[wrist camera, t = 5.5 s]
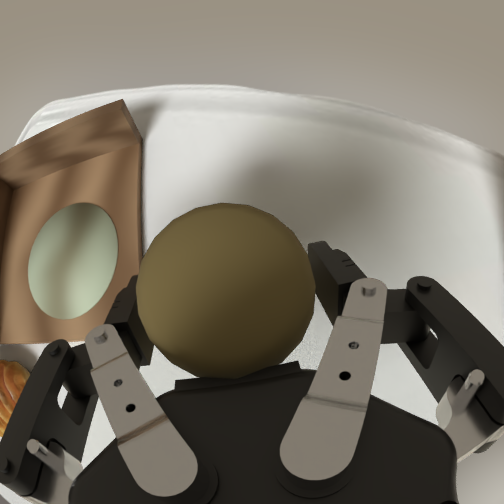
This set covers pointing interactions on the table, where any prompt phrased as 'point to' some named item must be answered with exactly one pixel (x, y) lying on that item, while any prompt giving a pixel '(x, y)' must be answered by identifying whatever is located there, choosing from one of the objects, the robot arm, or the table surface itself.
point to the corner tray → (69, 225)
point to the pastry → (10, 389)
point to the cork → (225, 291)
